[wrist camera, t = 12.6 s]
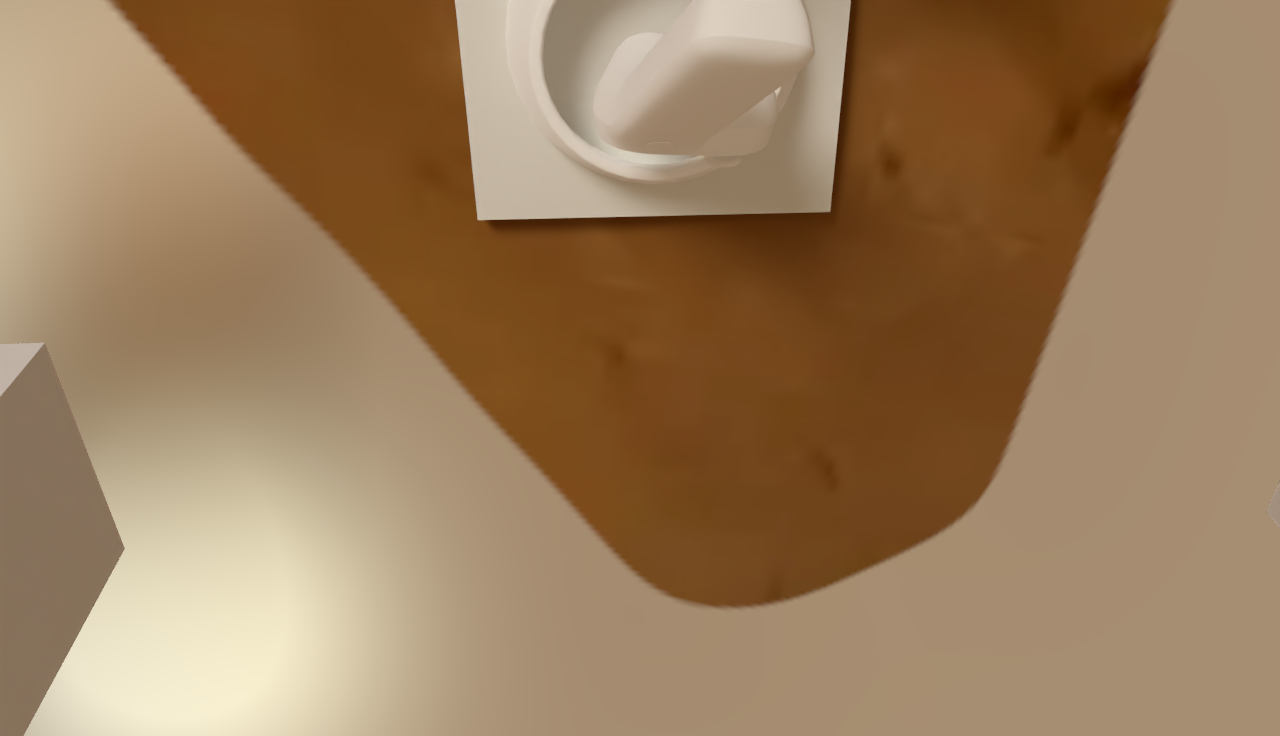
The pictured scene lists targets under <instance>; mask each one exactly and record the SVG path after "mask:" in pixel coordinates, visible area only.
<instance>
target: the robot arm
mask: <svg viewBox="0 0 1280 736" xmlns="http://www.w3.org/2000/svg"><path fill="white" fill-rule="evenodd" d="M1267 513H1268V515H1269V516H1270V517H1271V518H1272V519H1273V521H1274V522H1275V523H1276V525H1277V526H1278V527H1279V528H1280V481H1279V483H1278V486H1277V488H1276V491H1275V493H1274V495H1273V498H1272V500H1271V502H1270V505H1269V507H1268V510H1267ZM123 551H124V546H123V543H122V541H121V538H120V535H119V533H118V530H117V528H116V525H115V523H114V520H113V517H112V515H111V512H110V510H109V507H108V505H107V502H106V499H105V497H104V494H103V492H102V489H101V487H100V484H99V481H98V479H97V476H96V474H95V471H94V469H93V466H92V463H91V461H90V458H89V456H88V453H87V450H86V448H85V445H84V443H83V440H82V438H81V435H80V432H79V430H78V427H77V425H76V422H75V420H74V417H73V414H72V412H71V409H70V407H69V404H68V402H67V399H66V396H65V394H64V391H63V389H62V386H61V383H60V381H59V378H58V376H57V373H56V371H55V368H54V366H53V363H52V360H51V358H50V355H49V353H48V350H47V347H46V345H45V343H27V344H26V343H25V344H0V736H23V735H24V733H25V731H26V730H27V728H28V726H29V724H30V722H31V720H32V718H33V717H34V715H35V713H36V711H37V709H38V708H39V706H40V704H41V702H42V700H43V698H44V697H45V695H46V692H47V691H48V689H49V687H50V685H51V684H52V682H53V680H54V678H55V676H56V674H57V672H58V671H59V669H60V667H61V665H62V663H63V661H64V659H65V657H66V656H67V654H68V652H69V650H70V648H71V647H72V645H73V643H74V641H75V639H76V637H77V636H78V634H79V632H80V630H81V628H82V626H83V624H84V622H85V621H86V619H87V617H88V615H89V613H90V611H91V610H92V607H93V606H94V604H95V602H96V600H97V599H98V597H99V595H100V593H101V591H102V589H103V588H104V586H105V584H106V582H107V580H108V578H109V576H110V575H111V573H112V571H113V569H114V567H115V565H116V563H117V562H118V560H119V558H120V556H121V554H122V552H123Z"/></svg>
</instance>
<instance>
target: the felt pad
mask: <svg viewBox="0 0 1280 736" xmlns="http://www.w3.org/2000/svg"><path fill="white" fill-rule="evenodd" d="M692 1H693V0H557V1H556V3H555V5H554V7H553V9H552V11H551V14H550V17H549V21H548V24H547V27H546V31H545V37H544V48H543V63H544V72H545V79H546V83H547V86H548V89H549V92H550V95H551V99H552V101H553V103H554V104H555V106H556V108H557V110H558V112H559V114H560V116H561V117H562V119H563V120H564V121H565V122H566V124H567V125H568V126H569V127H570V129H571V130H572V131H573V132H575V133H576V134H577V135H578V136H579V137H581V138H582V139H583V140H584V141H585V142H587V143H588V144H589V145H591V146H593V147H595V148H596V149H598V150H600V151H602V152H604V153H606V154H607V155H610V156H613V157H616V158H619V159H622V160H625V161H628V162H635V163H644V164H665V163H675V162H679V161H683V160H687V159H691V158H694V157H697V156H694V155H661V154H644V153H635V152H629V151H625V150H621V149H618V148H616V147H613V146H611V145H609V144H607V143H606V142H604V141H603V140H602V139H601V138H600V136H599V132H598V129H597V125H596V121H595V117H594V112H593V102H594V97H595V92H596V89H597V86H598V84H599V82H600V80H601V78H602V76H603V74H604V72H605V70H606V68H607V66H608V65H609V63H610V61H611V59H612V57H613V55H614V53H615V51H616V49H617V47H619V46H620V45H621V44H622V43H623V42H624V41H625V40H626V39H627V38H628V37H631V36H633V35H636V34H638V33H646V32H653V33H661V34H665V32H666V31H667V30H668V29H669V28H670V27H671V25H672V24H673V23H674V22H675V21H676V20H677V18H678V17H679V16H680V15H681V14H682V13H683V11H684V10H685V9H686V8H687V7H688V6H689V4H690V3H691V2H692ZM802 2H803V4H804V6H805V9H806V11H807V14H808V16H809V21H810V25H811V30H812V35H813V41H814V48H815V54H814V56H813V57H812V59H811V60H810V61H809V63H808V64H807V65H806V66H805V67H804V68H803V69H802V70H801V71H799V72H798V74H797V78H796V80H795V82H794V85H793V87H792V89H791V91H790V94H789V96H788V98H787V101H786V103H785V105H784V106H783V108H782V109H781V111H780V112H779V114H778V118H777V121H776V124H775V127H774V129H773V132H772V134H771V137H770V139H769V141H768V144H767V145H766V146H765V148H763V149H762V150H760V151H757V152H755V153H751V154H747V155H741V162H740V163H739V164H738V165H736V166H733V167H720V168H718V169H716V170H714V171H711V172H709V173H707V174H705V175H703V176H700V177H697V178H693V179H689V180H685V181H681V182H677V183H664V184H643V183H635V182H626V181H621V180H618V179H615V178H611V177H608V176H605V175H602V174H599V173H596V172H594V171H592V170H591V169H589V168H587V167H585V166H583V165H581V164H579V163H578V162H576V161H574V160H572V159H571V158H570V157H569V156H568V155H566V154H565V153H564V152H563V151H561V150H560V149H559V148H558V147H556V146H555V145H554V144H553V143H552V142H550V141H549V139H548V138H547V137H546V136H545V135H544V133H543V132H542V131H541V130H540V129H539V128H538V126H537V125H536V124H535V123H534V122H533V120H532V119H531V117H530V116H529V114H528V112H527V110H526V108H525V107H524V105H523V103H522V101H521V99H520V98H519V96H518V94H517V91H516V88H515V85H514V82H513V78H512V75H511V72H510V69H509V65H508V57H507V49H506V41H505V32H506V18H507V7H508V3H509V0H455V5H456V14H457V24H458V34H459V43H460V53H461V63H462V72H463V82H464V92H465V101H466V111H467V121H468V130H469V140H470V149H471V159H472V169H473V178H474V188H475V198H476V207H477V217H478V220H505V219H549V218H592V217H635V216H679V215H722V214H765V213H808V212H830V209H831V199H832V189H833V179H834V168H835V158H836V148H837V138H838V128H839V117H840V107H841V97H842V87H843V76H844V66H845V56H846V46H847V36H848V25H849V15H850V5H851V0H802Z"/></svg>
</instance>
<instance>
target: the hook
mask: <svg viewBox="0 0 1280 736" xmlns="http://www.w3.org/2000/svg"><path fill="white" fill-rule="evenodd" d="M556 1H557V0H509V3H508V7H507V18H506V32H505V41H506V49H507V57H508V65H509V69H510V72H511V75H512V78H513V82H514V85H515V88H516V91H517V94H518V96H519V98H520V99H521V101H522V103H523V105H524V107H525V108H526V110H527V112H528V114H529V116H530V117H531V119H532V120H533V122H534V123H535V124H536V125H537V126H538V128H539V129H540V130H541V131H542V132H543V133H544V135H545V136H546V137H547V138H548V139H549V141H550V142H552V143H553V144H554V145H555V146H556V147H558V148H559V149H560V150H561V151H563V152H564V153H565V154H566V155H568V156H569V157H570V158H571V159H572V160H574V161H576V162H578V163H579V164H581V165H583V166H585V167H587V168H589V169H591V170H592V171H594V172H596V173H599V174H602V175H605V176H608V177H611V178H615V179H618V180H621V181H626V182H635V183H643V184H664V183H677V182H681V181H685V180H689V179H693V178H697V177H700V176H703V175H705V174H707V173H709V172H711V171H714V170H716V169H718V168H720V167H733V166H736V165H738V164H739V163H740V162H741V155H747V154H751V153H755V152H757V151H760V150H762V149H763V148H765V146H766V145H767V144H768V141H769V139H770V137H771V134H772V132H773V129H774V127H775V124H776V121H777V118H778V114H779V112H780V111H781V109H782V108H783V106H784V105H785V103H786V101H787V98H788V96H789V94H790V91H791V89H792V87H793V85H794V82H795V80H796V78H797V74H798V72H799V71H801V70H802V69H803V68H804V67H805V66H806V65H807V64H808V63H809V61H810V60H811V59H812V57H813V56H814V54H815V48H814V41H813V35H812V30H811V25H810V21H809V16H808V14H807V11H806V9H805V6H804V4H803V2H802V0H693V1H692V2H691V3H690V4H689V6H688V7H687V8H686V9H685V10H684V11H683V13H682V14H681V15H680V16H679V17H678V18H677V20H676V21H675V22H674V23H673V24H672V25H671V27H670V28H669V29H668V30H667V31H666V32H665V34H661V33H653V32H646V33H638V34H636V35H633V36H631V37H628V38H627V39H626V40H625V41H624V42H623V43H622V44H621V45H620V46H619V47H617V49H616V51H615V53H614V55H613V57H612V59H611V61H610V63H609V65H608V66H607V68H606V70H605V72H604V74H603V76H602V78H601V80H600V82H599V84H598V86H597V89H596V92H595V97H594V102H593V112H594V117H595V121H596V125H597V129H598V132H599V136H600V138H601V139H602V140H603V141H604V142H606V143H607V144H609V145H611V146H613V147H616V148H618V149H621V150H625V151H629V152H635V153H644V154H661V155H694V156H697V157H694V158H691V159H687V160H683V161H679V162H675V163H665V164H644V163H635V162H628V161H625V160H622V159H619V158H616V157H613V156H610V155H607V154H606V153H604V152H602V151H600V150H598V149H596V148H595V147H593V146H591V145H589V144H588V143H587V142H585V141H584V140H583V139H582V138H581V137H579V136H578V135H577V134H576V133H575V132H573V131H572V130H571V129H570V127H569V126H568V125H567V124H566V122H565V121H564V120H563V119H562V117H561V116H560V114H559V112H558V110H557V108H556V106H555V104H554V103H553V101H552V99H551V95H550V92H549V89H548V86H547V83H546V79H545V72H544V63H543V48H544V37H545V31H546V27H547V24H548V21H549V17H550V14H551V11H552V9H553V7H554V5H555V3H556Z"/></svg>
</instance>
